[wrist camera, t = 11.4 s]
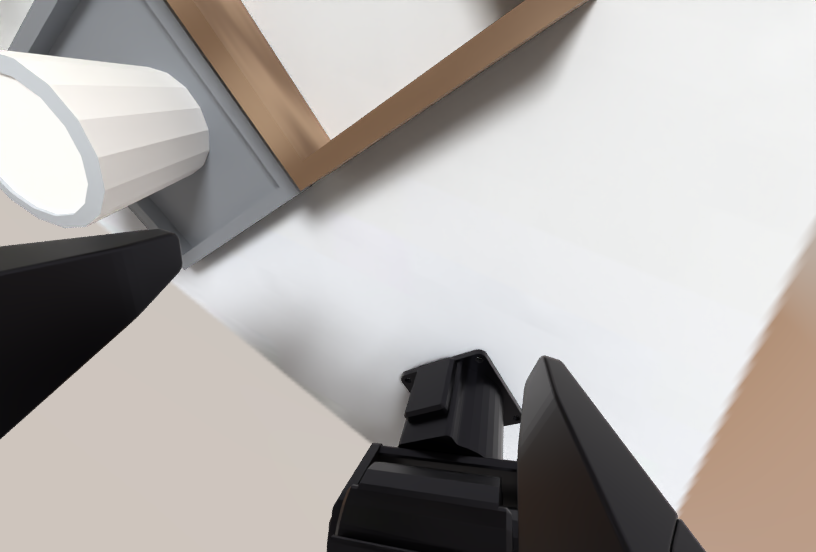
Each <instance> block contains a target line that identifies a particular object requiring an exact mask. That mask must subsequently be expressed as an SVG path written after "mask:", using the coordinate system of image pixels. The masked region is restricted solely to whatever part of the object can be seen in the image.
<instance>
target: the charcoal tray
mask: <svg viewBox="0 0 816 552" xmlns="http://www.w3.org/2000/svg"><path fill="white" fill-rule="evenodd" d="M8 51H15V52H23V53H32V54H40V55H49V56H58V57H66V58H75V59H84V60H92V61H101V62H110V63H118V64H127V65H136V66H144V67H150V68H153V69H156V70H160V71H163V72H166V73H168V74H169V75H171V76H172V77H173V78H174V79H176V80H177V81H178V82H180V83H181V84H182V85H183V86H185V87H186V88H187V90H188V91H189V93H190V94H191V95H192V97H193V98H194V100H195V101H196V102H197V104H198V105H199V107H200V108H201V111H202V114H203V116H204V119H205V122H206V124H207V127H208V130H209V152H208V155H207V158H206V161H205V163H204V165H203V166H202V167H201V168H200V169H198V170H197V171H196V172H194V173H193V174H191V175H189V176H187V177H185V178H183V179H181V180H179V181H177V182H175V183H173V184H171V185H169V186H167V187H165V188H163V189H161V190H159V191H157V192H155V193H153V194H151V195H149V196H147V197H145V198H143V199H141V200H139V201H137V202H135V203H133V204H131V205H129V206H128V207H129V208H130V209H131V210H132V211H133V212H134V214H135V215H136V216H137V217H138V218H139V219H140V220H141V221H142V223H143V224H144V225H145V226H146V227H147V228H148V229H149V230H150V229H164V230H167V231H170V232H173V233H175V234H176V235H177V236H178V237H179V240H180V246H181V254H182V261H183V264H182V268H183V269H184V270H185V269H187V268H189V267H190V266H192V265H193V264H195V263H196V262H198V261H200V260H201V259H203V258H204V257H206V256H207V255H209V254H210V253H212V252H213V251H215V250H216V249H218V248H219V247H221V246H222V245H224V244H225V243H227V242H228V241H230V240H231V239H233V238H234V237H236V236H237V235H239V234H240V233H242V232H243V231H245V230H246V229H248V228H249V227H251V226H252V225H254V224H255V223H257V222H258V221H260V220H261V219H263V218H264V217H266V216H267V215H269V214H270V213H271V212H273V211H274V210H276V209H277V208H279V207H280V206H282V205H283V204H285V203H286V202H288V201H289V200H291V199H292V198H294V197H295V196H297V195H298V194H300V193H301V192H303V191H304V190H306V189H307V188H309V187H310V186H312V184H311V185H310V186H308V187H306V188H305V189H303V190H301V191H300V189H299V188H298V186H297V185H296V184H295V182H294V181H293V179H292V178H291V176H290V175H289V174H288V172H287V171H286V169H285V168H284V167H283V165H282V164H281V162H280V161H279V159H278V158H277V157H276V155H275V154H274V152H273V151H272V149H271V148H270V147H269V145H268V144H267V142H266V141H265V140H264V138H263V137H262V135H261V134H260V132H259V131H258V130H257V128H256V127H255V125H254V124H253V122H252V121H251V120H250V118H249V117H248V115H247V114H246V113H245V111H244V110H243V108H242V107H241V105H240V104H239V103H238V101H237V100H236V98H235V97H234V96H233V94H232V93H231V91H230V90H229V88H228V87H227V86H226V84H225V83H224V81H223V80H222V78H221V77H220V76H219V74H218V73H217V71H216V70H215V69H214V67H213V66H212V64H211V63H210V61H209V60H208V59H207V57H206V56H205V54H204V53H203V51H202V50H201V49H200V47H199V46H198V44H197V43H196V42H195V40H194V39H193V37H192V36H191V34H190V33H189V32H188V30H187V29H186V27H185V26H184V25H183V23H182V22H181V20H180V19H179V17H178V16H177V15H176V13H175V12H174V10H173V9H172V7H171V6H170V5H169V3H168V2H167V0H34V2H33V4H32V6H31V8H30V10H29V12H28V13H27V15H26V17H25V19H24V21H23V23H22V25H21V26H20V28H19V30H18V32H17V34H16V36H15V38H14V40H13V41H12V43H11V45H10V47H9V49H8Z"/></svg>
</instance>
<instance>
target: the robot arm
mask: <svg viewBox="0 0 816 552" xmlns="http://www.w3.org/2000/svg"><path fill="white" fill-rule="evenodd" d="M182 264H183V261H182V254H181V246H180V240H179V237H178V236H177V235H176V234H175V233H173V232H170V231H167V230H164V229H150V230H141V231H132V232H123V233H115V234H106V235H97V236H89V237H80V238H71V239H62V240H53V241H45V242H36V243H27V244H18V245H9V246H1V247H0V439H1V438H2V437H3V436H5V435H6V434H7V433H8V432H9V431H10V430H11V429H12V428H13V427H15V426H16V425H17V424H18V423H19V422H20V421H21V420H22V419H24V418H25V417H26V416H27V415H28V414H29V413H30V412H31V411H32V410H34V409H35V408H36V407H37V406H38V405H39V404H40V403H41V402H43V401H44V400H45V399H46V398H47V397H48V396H49V395H51V394H52V393H53V392H54V391H55V390H56V389H57V388H58V387H59V386H61V385H62V384H63V383H64V382H65V381H66V380H67V379H69V378H70V377H71V376H72V375H73V374H74V373H75V372H76V371H78V370H79V369H80V368H81V367H82V366H83V365H84V364H85V363H86V362H88V361H89V360H90V359H91V358H92V357H93V356H94V355H95V354H97V353H98V352H99V351H100V350H101V349H102V348H103V347H104V346H106V345H107V344H108V343H109V342H110V341H111V340H112V339H113V338H115V337H116V336H117V335H118V334H119V333H120V332H121V331H122V330H124V329H125V328H126V327H127V326H128V325H129V324H130V323H131V322H132V321H133V320H134V319H136V318H137V317H138V316H139V315H140V314H141V313H142V312H143V311H144V310H145V308H146V307H147V306H148V305H149V304H150V303H151V302H152V301H153V300H154V299H155V298H156V297H157V296H158V294H159V293H160V292H161V291H162V290H163V289H164V288H165V287H166V286H167V285H168V284H169V283H170V281H171V280H172V279H173V278H174V277H175V276H176V275H177V274H178V273H179V272H180V270H181V268H182ZM477 357H482V359H479V358H477ZM408 378H410V379H408ZM401 381H402V383H403V384H404V385H405V387H406V388H407V389H408V391H409V392H410V393H411V394H410V397H409V401H408V404H407V407H406V410H405V414H404V416H405V418H406V422H405V425H404V429H403V432H402V435H401V439H400V442H399V446H398V447H399V448H398V447H390V446H383V445H382V444H378V443H372V445H371V446H370V448H369V450H368V451H367V453H366V454H365V456H364V457H363V459H362V461H361V462H360V464H359V466H358V467H357V469H356V470H355V472H354V474H353V475H352V477H351V478H350V480H349V481H348V483H347V485H346V486H345V488H344V489H343V491H342V493H341V495H340V496H339V498H338V500H337V501H336V503H335V505H334V507H333V510H332V517H331V519H330V522H329V532H328V541H327V552H706V551H705V550H704V548H703V547H702V546H701V545H700V543H699V542H698V541H697V539H696V538H695V537H694V535H693V534H692V533H691V531H690V530H689V529H688V528H687V526H686V525H685V524H684V522H683V521H682V520H681V519H677V518H678V515H677V513H676V512H675V511H674V509H673V508H672V507H671V505H670V504H669V503H668V501H667V500H666V499H665V497H664V496H663V495H662V493H661V492H660V491H659V489H658V488H657V487H656V485H655V484H654V483H653V481H652V480H651V479H650V477H649V476H648V475H647V473H646V472H645V471H644V470H643V468H642V467H641V466H640V464H639V463H638V462H637V460H636V459H635V458H634V456H633V455H632V454H631V452H630V451H629V450H628V448H627V447H626V446H625V444H624V443H623V442H622V440H621V439H620V438H619V436H618V435H617V434H616V432H615V431H614V430H613V429H612V427H611V426H610V425H609V423H608V422H607V421H606V419H605V418H604V417H603V415H602V414H601V413H600V411H599V410H598V409H597V407H596V406H595V405H594V403H593V402H592V401H591V399H590V398H589V397H588V395H587V394H586V393H585V391H584V390H583V389H582V388H581V386H580V385H579V384H578V382H577V381H576V380H575V378H574V377H573V376H572V374H571V373H570V372H569V370H568V369H567V368H566V366H565V365H564V364H563V363H562V362H561V361H560V360H558V359H555V358H551V357H548V356H545V355H544V356H541V357H540V358H539V360H538V361H537V363H536V365H535V367H534V368H533V370H532V372H531V373H530V375H529V377H528V379H527V381H526V384H525V387H524V395H523V404H522V410H521V408H520V406H519V405H518V403H517V401H516V400H515V398H514V397H513V395H512V393H511V392H510V390H509V389H508V387H507V385H506V384H505V382H504V380H503V379H502V377H501V376H500V374H499V372H498V371H497V369H496V368H495V366H494V364H493V363H492V361H491V359H490V358H489V356H488V355H487V353H486V352H485V351H483V350H474V351H471V352H468V353H465V354H461V355H458V356H455V357H451V358H446V359H443V360H440V361H437V362H433V363H430V364H427V365H423V366H420V367H418V368H415V369H412V370H408V371H405V372H404V373H403V375H402V377H401ZM517 423H520V433H519V442H518V459H517V461H511V460H503V426H507V425H512V424H517Z"/></svg>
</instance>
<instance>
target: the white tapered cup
mask: <svg viewBox="0 0 816 552" xmlns="http://www.w3.org/2000/svg"><path fill="white" fill-rule="evenodd" d="M208 152H209V130H208V127H207V124H206V122H205V119H204V116H203V114H202V111H201V108H200V107H199V105H198V104H197V102H196V101H195V100H194V98H193V97H192V95H191V94H190V93H189V91H188V90H187V88H186V87H185V86H183V85H182V84H181V83H180V82H178V81H177V80H176V79H174V78H173V77H172V76H171V75H169V74H168V73H166V72H163V71H160V70H156V69H153V68H150V67H144V66H136V65H127V64H118V63H110V62H101V61H92V60H84V59H75V58H66V57H58V56H49V55H40V54H32V53H23V52H15V51H6V50H0V189H1V190H2V191H3V192H4V193H5V194H6V195H7V196H8V197H9V198H10V199H11V200H13V201H14V202H15V203H17V204H18V205H20V206H21V207H23V208H24V209H26V210H27V211H28V212H30V213H31V214H33V215H34V216H35V217H37V218H38V219H41V220H44V221H46V222H49V223H52V224H55V225H58V226H60V227H63V228H74V227H86V226H89V225H91V224H92V223H94V222H97V221H99V220H101V219H103V218H105V217H107V216H109V215H111V214H113V213H115V212H117V211H119V210H121V209H123V208H125V207H127V206H129V205H131V204H133V203H135V202H137V201H139V200H141V199H143V198H145V197H147V196H149V195H151V194H153V193H155V192H157V191H159V190H161V189H163V188H165V187H167V186H169V185H171V184H173V183H175V182H177V181H179V180H181V179H183V178H185V177H187V176H189V175H191V174H193V173H194V172H196V171H197V170H198V169H200V168H201V167H202V166H203V165H204V163H205V161H206V158H207V155H208Z"/></svg>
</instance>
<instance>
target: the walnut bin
mask: <svg viewBox="0 0 816 552" xmlns="http://www.w3.org/2000/svg"><path fill="white" fill-rule="evenodd" d="M587 1H589V0H525V1H523V2H522V3H520V4H519V5H518V6H516V7H515V8H514V9H512V10H511V11H509V12H508V13H507V14H505V15H504V16H502V17H501V18H500V19H498V20H497V21H496V22H494V23H493V24H491V25H490V26H489V27H487V28H486V29H484V30H483V31H482V32H480V33H479V34H478V35H476V36H475V37H473V38H472V39H471V40H469V41H468V42H466V43H465V44H464V45H462V46H461V47H460V48H458V49H457V50H455V51H454V52H453V53H451V54H450V55H448V56H447V57H446V58H444V59H443V60H442V61H440V62H439V63H437V64H436V65H435V66H433V67H432V68H430V69H429V70H428V71H426V72H425V73H424V74H422V75H421V76H419V77H418V78H417V79H415V80H414V81H412V82H411V83H410V84H408V85H407V86H406V87H404V88H403V89H401V90H400V91H399V92H397V93H396V94H394V95H393V96H392V97H390V98H389V99H388V100H386V101H385V102H383V103H382V104H381V105H379V106H378V107H376V108H375V109H374V110H372V111H371V112H370V113H368V114H367V115H365V116H364V117H363V118H361V119H360V120H358V121H357V122H356V123H354V124H353V125H352V126H350V127H349V128H347V129H346V130H345V131H343V132H342V133H340V134H339V135H338V136H336V137H335V138H334V139H332V140H330V139H329V137H328V136H327V134H326V132H325V131H324V129H323V128H322V126H321V125H320V123H319V122H318V120H317V118H316V117H315V115H314V114H313V112H312V111H311V109H310V108H309V106H308V104H307V103H306V101H305V100H304V98H303V97H302V95H301V94H300V92H299V90H298V89H297V87H296V86H295V84H294V83H293V81H292V80H291V78H290V76H289V75H288V73H287V72H286V70H285V69H284V67H283V65H282V64H281V62H280V61H279V59H278V58H277V56H276V55H275V53H274V51H273V50H272V48H271V47H270V45H269V44H268V42H267V41H266V39H265V37H264V36H263V34H262V33H261V31H260V30H259V28H258V27H257V25H256V23H255V22H254V20H253V19H252V17H251V16H250V14H249V13H248V11H247V9H246V8H245V6H244V5H243V3H242V2H241V0H167V2H168V3H169V5H170V6H171V7H172V9H173V10H174V12H175V13H176V15H177V16H178V17H179V19H180V20H181V22H182V23H183V25H184V26H185V27H186V29H187V30H188V32H189V33H190V34H191V36H192V37H193V39H194V40H195V42H196V43H197V44H198V46H199V47H200V49H201V50H202V51H203V53H204V54H205V56H206V57H207V59H208V60H209V61H210V63H211V64H212V66H213V67H214V69H215V70H216V71H217V73H218V74H219V76H220V77H221V78H222V80H223V81H224V83H225V84H226V86H227V87H228V88H229V90H230V91H231V93H232V94H233V96H234V97H235V98H236V100H237V101H238V103H239V104H240V105H241V107H242V108H243V110H244V111H245V113H246V114H247V115H248V117H249V118H250V120H251V121H252V122H253V124H254V125H255V127H256V128H257V130H258V131H259V132H260V134H261V135H262V137H263V138H264V140H265V141H266V142H267V144H268V145H269V147H270V148H271V149H272V151H273V152H274V154H275V155H276V157H277V158H278V159H279V161H280V162H281V164H282V165H283V167H284V168H285V169H286V171H287V172H288V174H289V175H290V176H291V178H292V179H293V181H294V182H295V184H296V185H297V186H298V188H299V189H300V191H301V190H303V189H305V188H306V187H308V186H310V185H311V184H313V183H315V182H316V181H318V180H320V179H321V178H323V177H325V176H326V175H328V174H330V173H331V172H333V171H334V170H336V169H337V168H339V167H340V166H342V165H343V164H345V163H346V162H348V161H349V160H351V159H352V158H354V157H355V156H357V155H358V154H360V153H361V152H363V151H364V150H366V149H367V148H369V147H370V146H372V145H373V144H375V143H376V142H378V141H379V140H381V139H382V138H384V137H385V136H387V135H388V134H390V133H391V132H393V131H394V130H396V129H397V128H399V127H400V126H402V125H403V124H405V123H406V122H408V121H409V120H411V119H412V118H414V117H415V116H417V115H418V114H420V113H421V112H423V111H424V110H426V109H427V108H429V107H430V106H432V105H433V104H435V103H436V102H438V101H439V100H441V99H442V98H444V97H445V96H446V95H448V94H449V93H451V92H452V91H454V90H455V89H457V88H458V87H460V86H461V85H463V84H464V83H466V82H467V81H469V80H470V79H472V78H473V77H475V76H476V75H478V74H479V73H481V72H482V71H484V70H485V69H487V68H488V67H490V66H491V65H493V64H494V63H496V62H497V61H499V60H500V59H502V58H503V57H505V56H506V55H508V54H509V53H511V52H512V51H514V50H515V49H517V48H518V47H520V46H521V45H523V44H524V43H526V42H527V41H529V40H530V39H532V38H533V37H535V36H536V35H538V34H539V33H541V32H542V31H544V30H545V29H547V28H548V27H550V26H551V25H553V24H554V23H556V22H557V21H559V20H560V19H562V18H563V17H565V16H566V15H568V14H569V13H571V12H572V11H574V10H575V9H577V8H578V7H580V6H581V5H583V4H584V3H586V2H587Z"/></svg>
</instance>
